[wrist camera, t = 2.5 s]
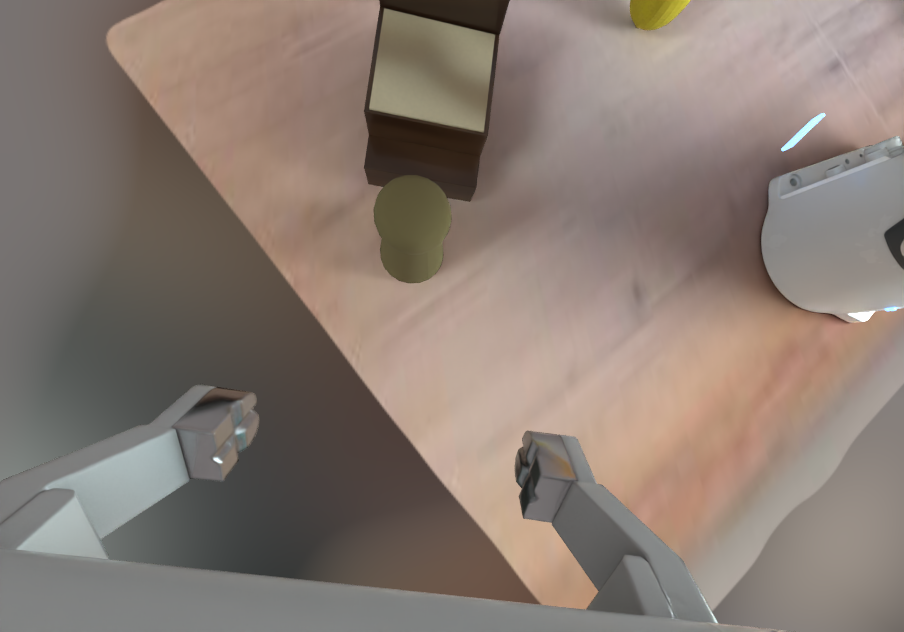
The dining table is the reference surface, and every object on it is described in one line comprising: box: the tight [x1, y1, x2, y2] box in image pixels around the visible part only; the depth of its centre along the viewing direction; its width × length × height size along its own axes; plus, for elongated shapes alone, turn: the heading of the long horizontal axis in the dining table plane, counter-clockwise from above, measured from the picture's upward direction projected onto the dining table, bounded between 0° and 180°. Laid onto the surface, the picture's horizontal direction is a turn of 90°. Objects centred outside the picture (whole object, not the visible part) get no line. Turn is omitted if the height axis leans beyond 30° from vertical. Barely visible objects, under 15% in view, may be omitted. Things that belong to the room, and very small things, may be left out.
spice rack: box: [364, 0, 510, 202], centre depth 28 cm, size 15×10×9 cm, turn 173°
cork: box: [374, 175, 452, 283], centre depth 26 cm, size 6×6×11 cm
